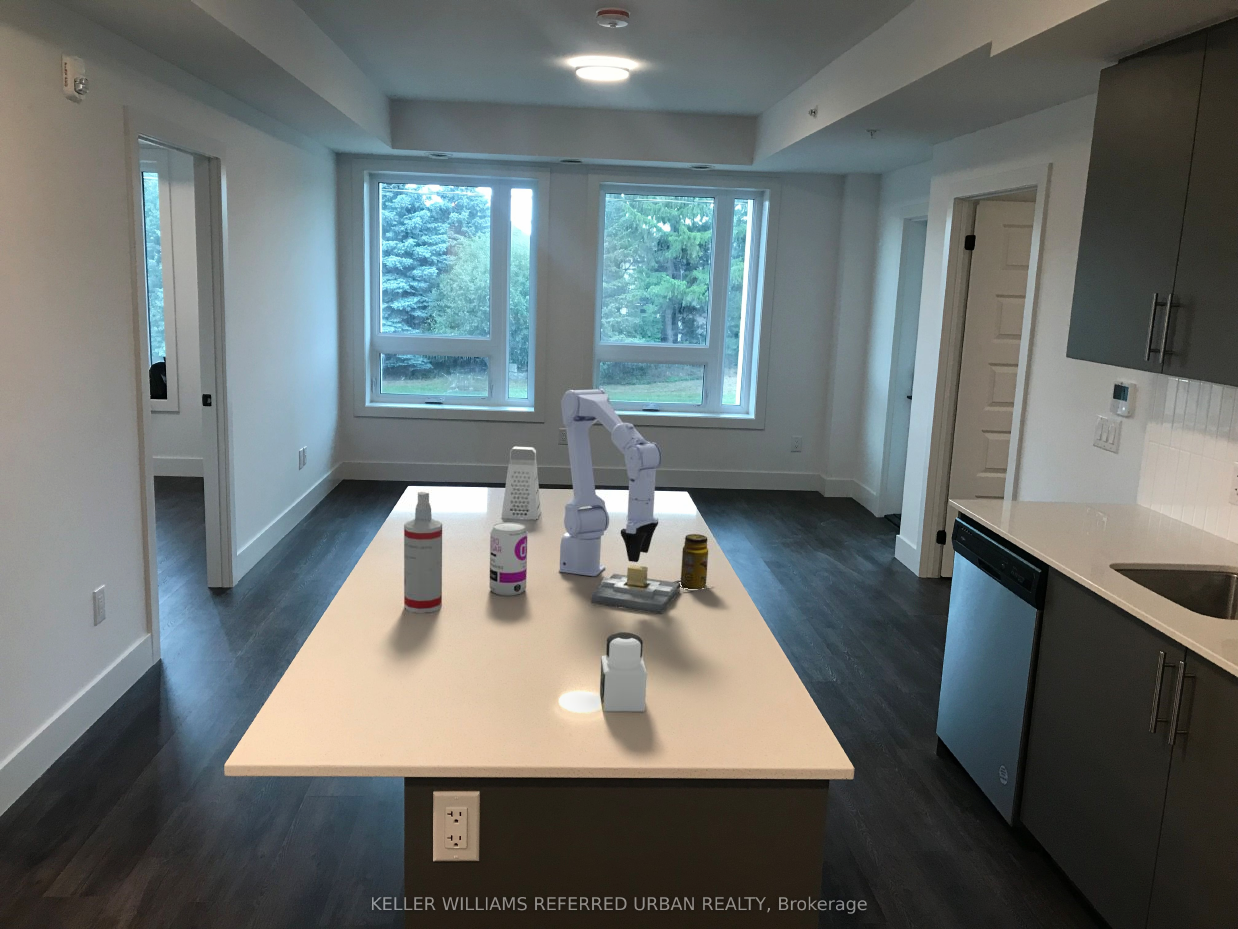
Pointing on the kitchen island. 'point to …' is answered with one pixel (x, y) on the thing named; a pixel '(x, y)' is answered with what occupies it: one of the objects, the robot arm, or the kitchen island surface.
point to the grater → (522, 488)
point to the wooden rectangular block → (637, 576)
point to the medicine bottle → (623, 674)
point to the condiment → (694, 563)
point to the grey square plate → (635, 597)
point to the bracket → (649, 591)
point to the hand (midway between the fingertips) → (638, 556)
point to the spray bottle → (423, 560)
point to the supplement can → (508, 558)
